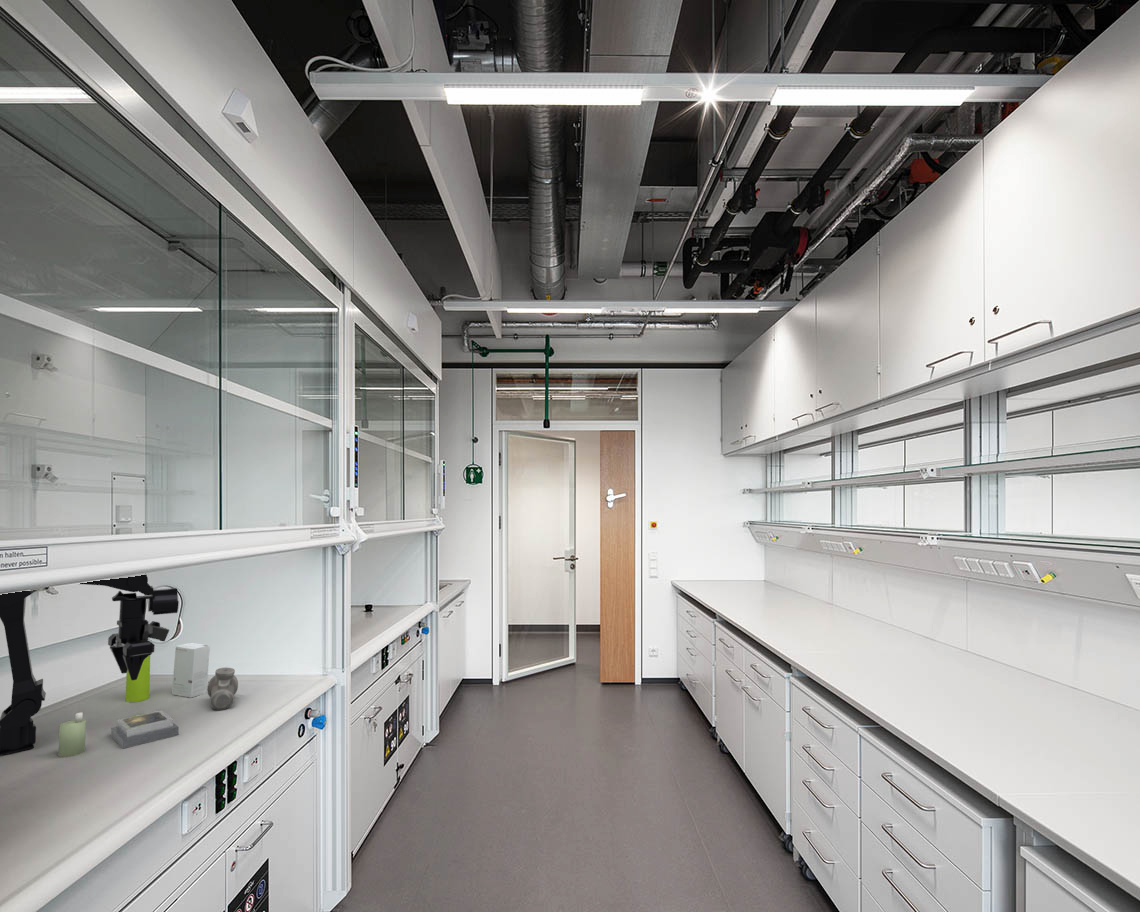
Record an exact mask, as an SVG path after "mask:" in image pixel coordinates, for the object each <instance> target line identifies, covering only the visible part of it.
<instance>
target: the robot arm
mask: <svg viewBox="0 0 1140 912" xmlns="http://www.w3.org/2000/svg"><path fill="white" fill-rule="evenodd" d="M148 581H149V578H148V576H147V574H146V575H141V576H135V577H128V578H119V579H110V580H100V581H93V582H87V583H80V584H79V585H89V586H90V585H91V586H102V587H103V586H104V587H107V588H108V587H110V588H112V589H116V590H119V591H118V592H117V593H116V594H115V595H113V596H112V597H111V601H112V602H119V619H118V620H117V621H116V625H117V626H118V633H112V634H111V635H110V636H108V639H107V640H108V641H107V645H108V646H109V649H110V651H111V653H112V655H113V658H114V660H115V661H116V664H117V666H118V669H119V670H120V673H121V674H126V673H127V670H128V672H129V675H130V677H131V680H136V679H137V677H138V674H139V672H140V669H141V666H142V663H143V661H144V659H145V658H147V657H148V656H149V655H150V656H151V655H152V654H153V653H155V644H154V643H153V642H152V641H150V640H149V639H153V640H159V641H160V642H166V639H167V637H168V634H169V632H170V629H168V628H167V627H164V626H163V627H162V626H161V623H160V622H159V621H153V620H152V621H151V622H150V623H149V621H148V620H147V619H146V609H148V610H147V611H148V612H151V613H152V616H155V615H170V614H177V613H178V612H179V604H180V603H179V598H178V597H179V596H178V595H179V594H178V590H179V589H178V588H177V587H171V588H163V589H162V588H161V589H155V588H154V587H153V585H150V584H149V583H148ZM37 591H38V590H33V591H22V592H15V593H8V594H2V595H0V621H1V622H2V625H3V626H4V631H5V632H4V633H5V638H6V639H5V640H6V646H7V651H8V657H9V658H8V659H9V664H10V668H11V669H10V671H11V675H12V689H11V701H10V702H11V703H10V705H8V706H7V708H5V709H4V710H2V713H1V715H0V756H4V755H5V756H6V755H9V754H14V753H17V752H22V751H26V750H31V749H34V747H35V744H36V742H37V741H36V739H37V726H36V724H34V720H33V718H32V717H33V716H35V715H36V714H37V713H38V712H39V711H40V710H41V708H42V704H43V701H45V700H46V695H47V694H46V692H45V690H44V678H41V679H38V680H37V679H36V677H35V676H34V672H33V668H32V660H31V655H30V647H29V643H28V637H27V629H26V624H25V614H26V601H27V597H30V596H31V595H32V594H33V593H35V592H37ZM122 591H125V592H126V593H123V592H122ZM127 592H128V593H127ZM137 592H139V593H141V594H143V595H137ZM147 600H148V601H147ZM146 603H147V605H146ZM146 607H147V608H146ZM141 640H142V641H141Z"/></svg>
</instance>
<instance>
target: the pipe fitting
mask: <svg viewBox="0 0 1140 912" xmlns="http://www.w3.org/2000/svg"><path fill="white" fill-rule="evenodd" d="M235 672H236V670H235V668H233V667H227V666H226V667H220V668H217V669H216V670H215V674H214V675H213V677H211V678H210V680H209V681H208V682H207V694H208V696H209V698H210V700H209V702H210V706H211V707H212V708H213V709H214V710H216V711H224V710H226V709H228V708H229V707H231V706H232V704H233V702H234V700H235V698H234V697H235V695H236V693H237V691H238V688H239V680H238V678H237V676H235Z"/></svg>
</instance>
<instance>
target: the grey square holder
mask: <svg viewBox="0 0 1140 912" xmlns="http://www.w3.org/2000/svg"><path fill="white" fill-rule="evenodd" d="M179 729H180V728H179V726H178V725H177V724H176V723H174V719H173V718H172V717H171V716H170V715H169V714H168V713H166V712H165V711H164V710H162V709H161V710H156V711H151V712H147V713H142V714H138V715H133V716H129V717H123V718H119V719H117V720H116V726H113V727H110V737H111V738H112V739H113V740H114V741H115V742H116V743H117V744H118V745H119V747H121V748H122V749H127V748H130V747H135V746H140V745H143V744H148V743H151V742H156V741H160V740H163V739H167V738H172V737H175V736H179Z"/></svg>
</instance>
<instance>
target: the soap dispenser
mask: <svg viewBox="0 0 1140 912" xmlns="http://www.w3.org/2000/svg"><path fill="white" fill-rule="evenodd" d="M141 641H142V640H141ZM125 674H126V677H125V679H126V680H125V702H126V703H138V702H139V703H140V702H143V701H146V700H148V699H149V698H150V684H151V682H150V679H151V676H150V675H151V655H149V656H148V657H147V658H145V659H144V661H143V663H142V666H141V669H140V672H139V674H138V677H137V679H136V680H131V677H130V675H129V672H128V670H127V673H125Z"/></svg>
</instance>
